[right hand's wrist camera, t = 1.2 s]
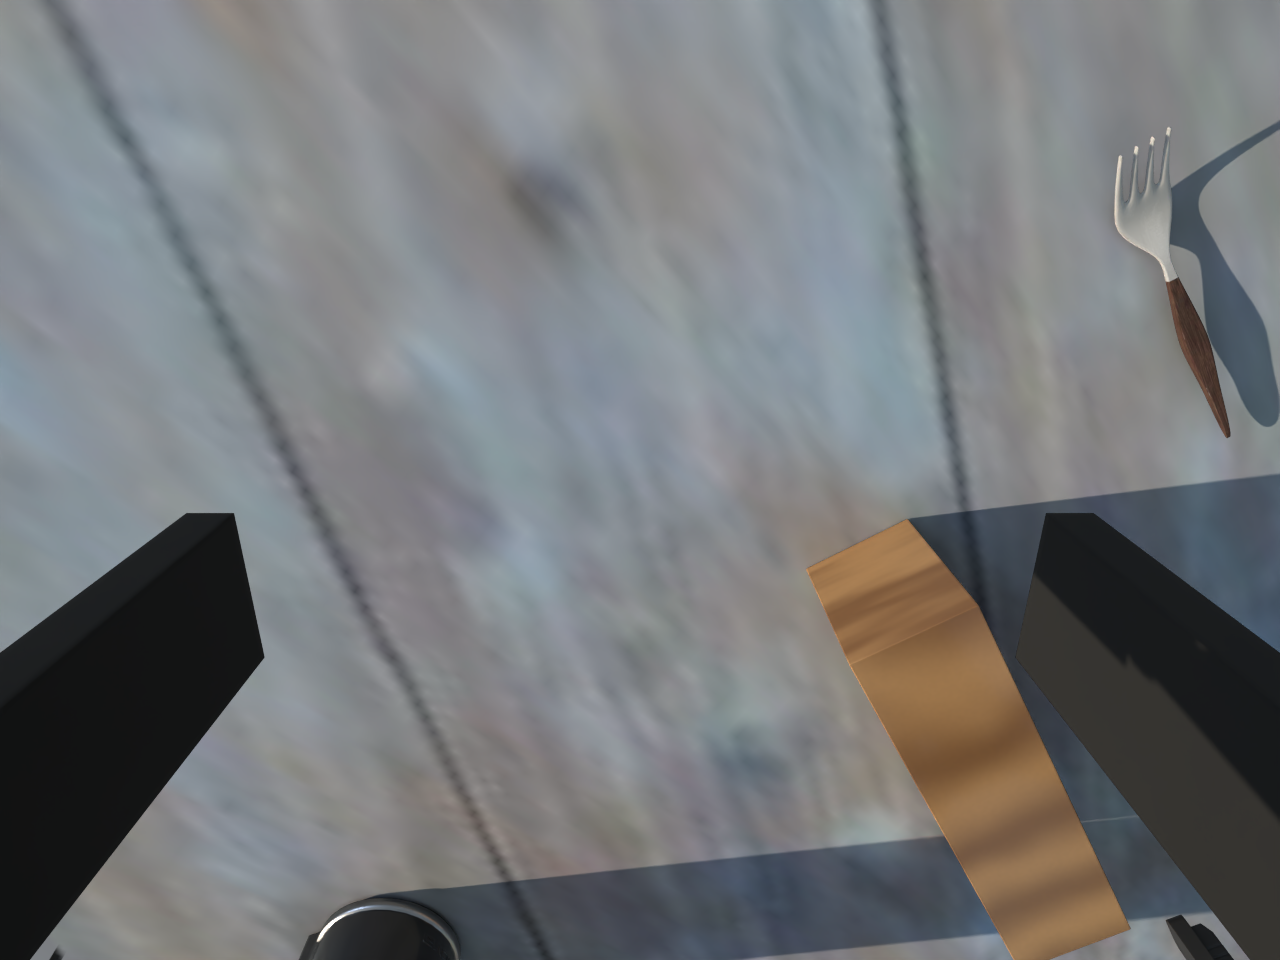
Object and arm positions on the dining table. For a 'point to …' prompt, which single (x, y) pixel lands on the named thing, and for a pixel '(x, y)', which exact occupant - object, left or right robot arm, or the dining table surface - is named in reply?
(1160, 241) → the fork
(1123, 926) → the box
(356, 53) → the dining table surface
